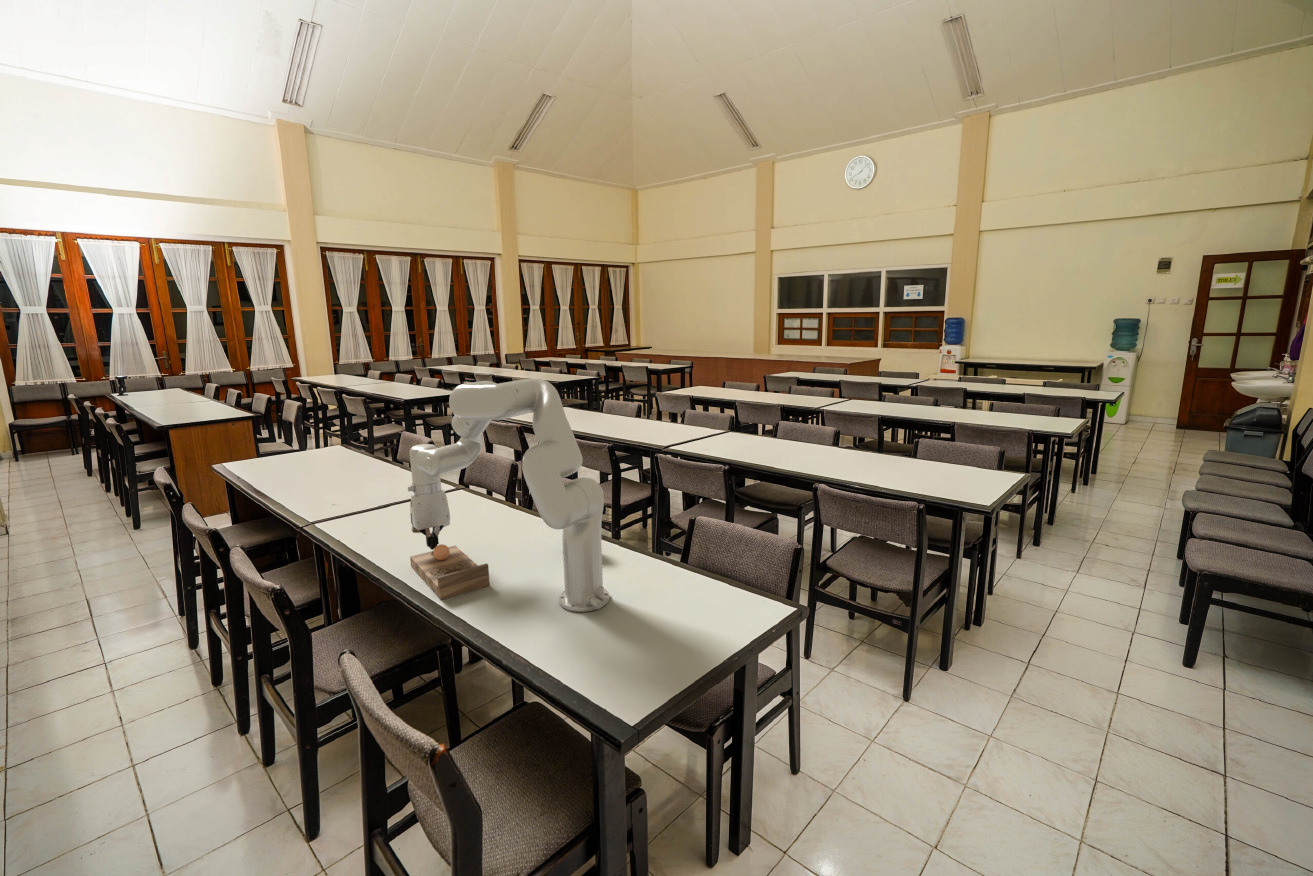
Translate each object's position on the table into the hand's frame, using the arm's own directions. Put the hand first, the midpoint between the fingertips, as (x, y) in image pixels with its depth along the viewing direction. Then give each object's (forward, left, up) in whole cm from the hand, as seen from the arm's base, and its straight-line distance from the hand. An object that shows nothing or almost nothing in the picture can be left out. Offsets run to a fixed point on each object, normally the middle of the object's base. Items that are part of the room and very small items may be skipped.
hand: (433, 547), depth 174 cm
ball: (-8, 0, +1) cm, 8 cm away
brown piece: (-13, 0, -4) cm, 13 cm away
